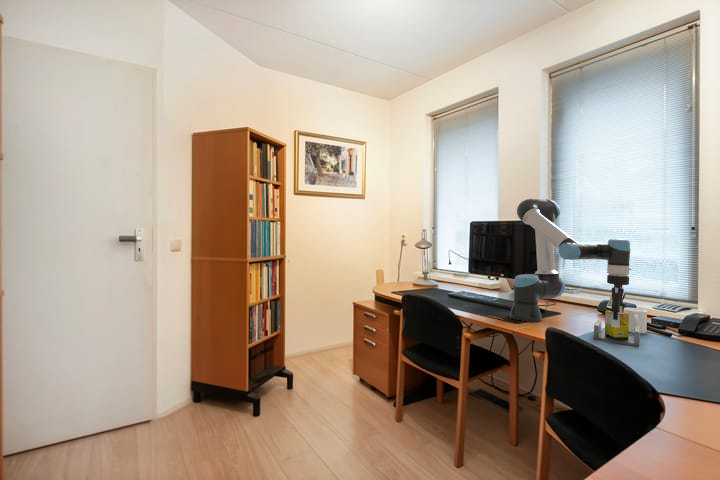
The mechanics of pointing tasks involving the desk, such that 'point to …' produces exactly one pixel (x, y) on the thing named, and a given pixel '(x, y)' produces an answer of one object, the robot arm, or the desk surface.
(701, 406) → the desk surface
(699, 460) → the desk surface
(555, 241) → the robot arm
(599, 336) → the bracket
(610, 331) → the supplement box
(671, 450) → the desk surface
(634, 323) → the mug
